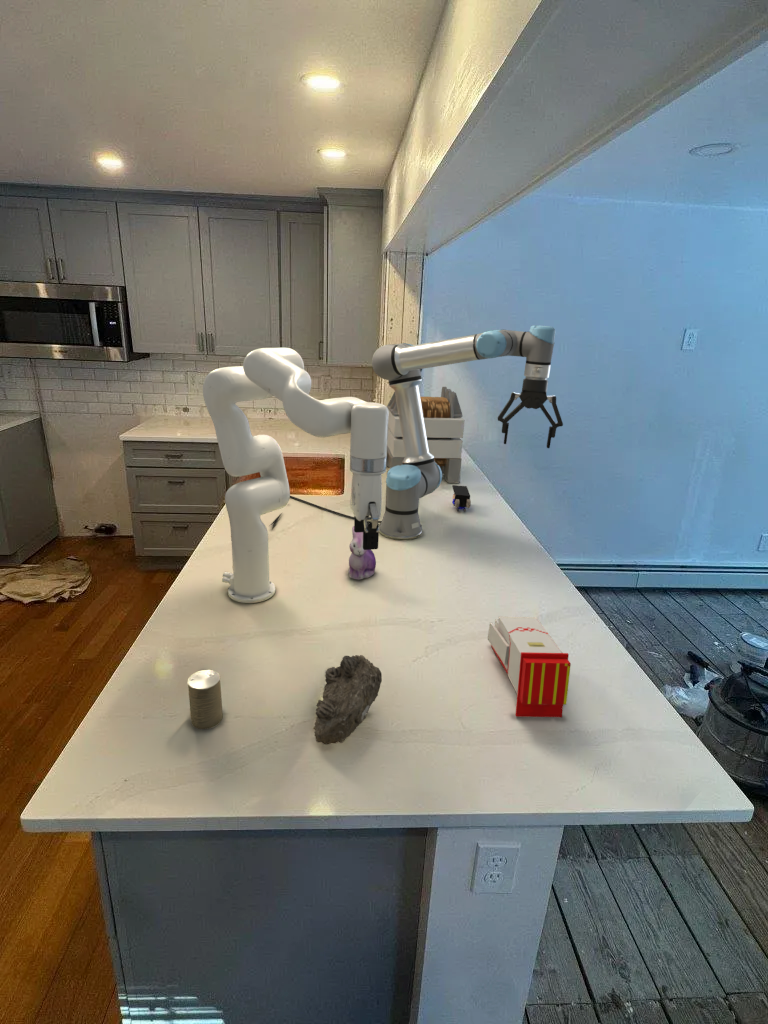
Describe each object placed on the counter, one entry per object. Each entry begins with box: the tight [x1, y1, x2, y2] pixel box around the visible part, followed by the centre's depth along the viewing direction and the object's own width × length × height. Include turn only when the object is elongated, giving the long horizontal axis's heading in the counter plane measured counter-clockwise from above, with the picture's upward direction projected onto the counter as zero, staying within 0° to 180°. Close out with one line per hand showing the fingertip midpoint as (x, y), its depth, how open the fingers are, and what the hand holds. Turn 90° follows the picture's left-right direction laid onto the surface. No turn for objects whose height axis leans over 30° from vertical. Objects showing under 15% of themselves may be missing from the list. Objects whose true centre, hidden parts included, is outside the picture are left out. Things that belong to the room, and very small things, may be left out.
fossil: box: [312, 654, 383, 746], centre depth 110 cm, size 22×10×15 cm
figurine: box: [347, 525, 377, 580], centre depth 166 cm, size 9×10×15 cm
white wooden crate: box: [386, 386, 465, 484], centre depth 268 cm, size 34×33×41 cm
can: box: [187, 669, 224, 730], centre depth 106 cm, size 6×6×9 cm
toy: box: [487, 616, 572, 718], centre depth 123 cm, size 12×13×30 cm
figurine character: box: [451, 484, 472, 513], centre depth 228 cm, size 7×8×15 cm
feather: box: [270, 513, 282, 529], centre depth 210 cm, size 2×28×2 cm
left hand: (365, 540), depth 123 cm, fingers open, 9 cm apart
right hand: (526, 445), depth 183 cm, fingers open, 13 cm apart
